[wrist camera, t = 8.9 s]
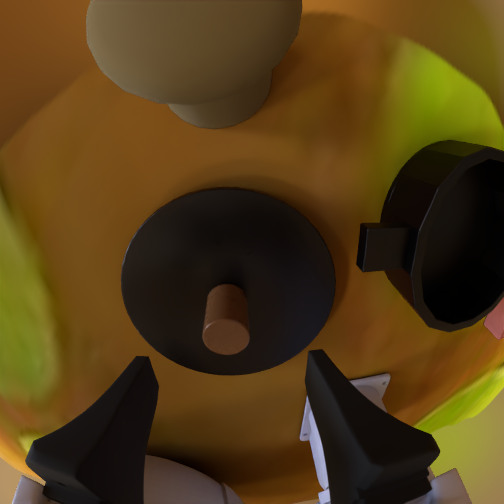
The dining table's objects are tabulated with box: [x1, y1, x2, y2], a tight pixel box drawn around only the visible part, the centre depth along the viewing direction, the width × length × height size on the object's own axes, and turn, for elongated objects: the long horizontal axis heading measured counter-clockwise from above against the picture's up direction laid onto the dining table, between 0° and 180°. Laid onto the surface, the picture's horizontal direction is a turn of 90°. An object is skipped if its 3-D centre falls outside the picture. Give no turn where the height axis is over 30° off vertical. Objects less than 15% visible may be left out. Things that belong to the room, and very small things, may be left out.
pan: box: [356, 140, 504, 332], centre depth 16 cm, size 12×18×4 cm
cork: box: [86, 0, 302, 129], centre depth 8 cm, size 6×6×11 cm
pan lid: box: [121, 187, 336, 375], centre depth 16 cm, size 14×14×5 cm
